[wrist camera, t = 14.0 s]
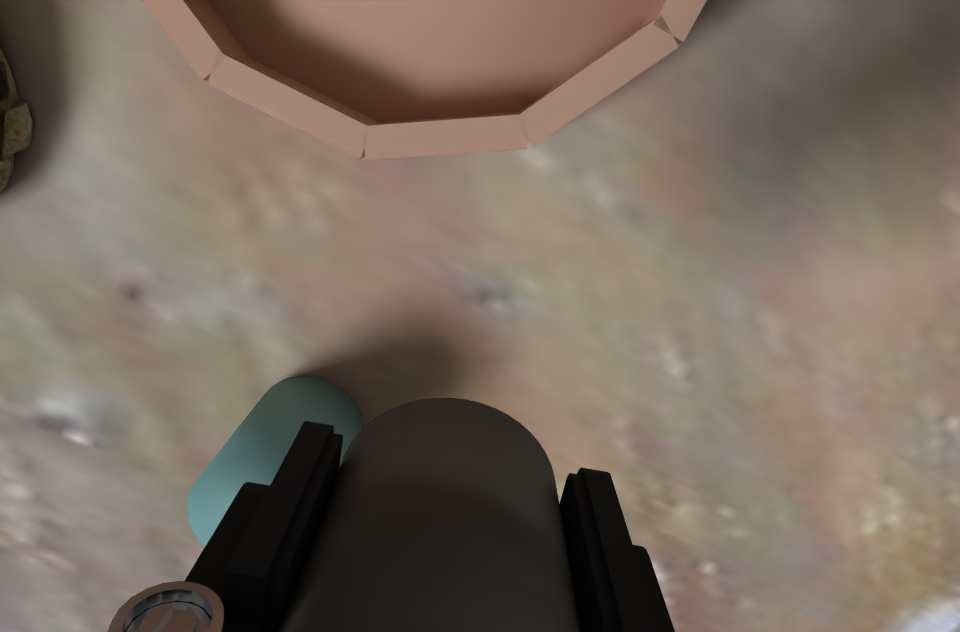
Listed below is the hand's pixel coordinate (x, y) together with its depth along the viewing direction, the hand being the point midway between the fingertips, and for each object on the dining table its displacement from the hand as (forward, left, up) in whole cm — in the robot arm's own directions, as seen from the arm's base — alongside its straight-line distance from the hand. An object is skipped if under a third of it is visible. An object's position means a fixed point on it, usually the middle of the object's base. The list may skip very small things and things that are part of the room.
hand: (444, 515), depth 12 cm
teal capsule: (-9, -1, -13) cm, 15 cm away
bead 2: (0, 0, -1) cm, 1 cm away
